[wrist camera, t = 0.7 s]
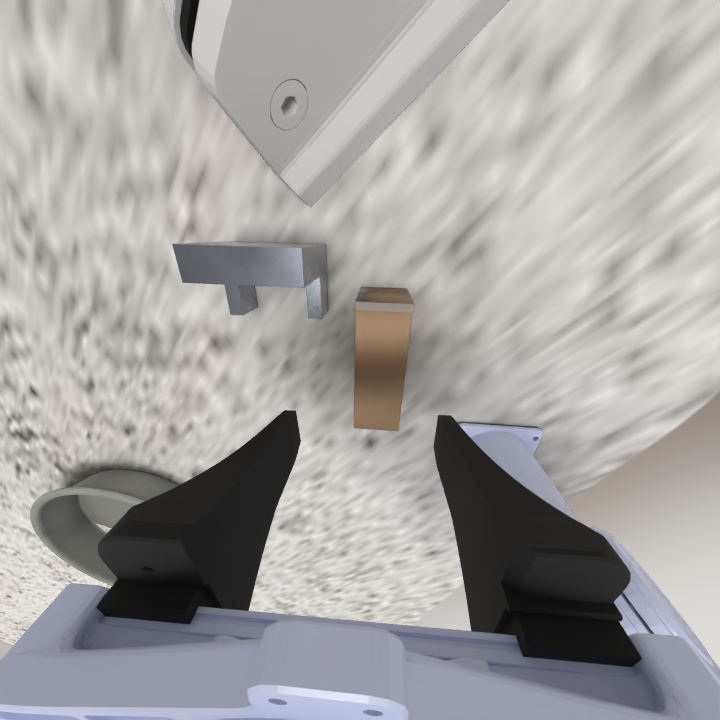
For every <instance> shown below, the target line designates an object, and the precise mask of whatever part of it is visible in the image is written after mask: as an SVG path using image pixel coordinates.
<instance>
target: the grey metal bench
mask: <svg viewBox="0 0 720 720" xmlns="http://www.w3.org/2000/svg"><path fill="white" fill-rule="evenodd" d="M172 245H173V249H174V252H175V256H176V260H177V263H178V267H179V271H180V274H181V278H182V282H183V283H203V284H225V289H226V294H227V299H228V304H229V309H230V314H231V315H245V314H247V313H248V312H250V311H252V310H254V309H255V308H257V307H258V305H257V298H256V292H255V286H276V287H301V288H304V287H306V289H307V304H308V318H310V319H322V318H323V317H324V315H325V314H326V312H327V311H328V292H327V259H326V244H299V243H267V242H210V243H184V244H172Z"/></svg>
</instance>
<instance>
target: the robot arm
mask: <svg viewBox="0 0 720 720" xmlns="http://www.w3.org/2000/svg"><path fill="white" fill-rule="evenodd" d="M542 435H543V432H542V431H541V430H540V429H538V428H527V427H513V426H498V425H484V424H470V423H460V424H458V423H457V422H456V421H455V420H454V418H453V417H452V416H449V415H438V420H437V427H436V434H435V441H434V451H435V458H436V463H437V468H438V471H439V475H440V478H441V482H442V488H443V490H444V492H445V495H446V499H447V502H448V505H449V509H450V512H451V516H452V520H453V525H454V530H455V535H456V540H457V546H458V551H459V557H460V562H461V568H462V574H463V580H464V586H465V592H466V598H467V604H468V611H469V618H470V625H471V631H461V630H451V629H439V628H428V627H418V626H407V625H396V624H385V623H374V622H363V621H352V620H341V619H330V618H319V617H308V616H297V615H286V614H275V613H264V612H253V611H249V606H250V602H251V598H252V594H253V590H254V585H255V581H256V577H257V574H258V570H259V566H260V562H261V558H262V554H263V551H264V547H265V544H266V540H267V537H268V533H269V530H270V526H271V523H272V520H273V517H274V513H275V510H276V507H277V505H278V502H279V499H280V497H281V494H282V492H283V490H284V487H285V485H286V482H287V480H288V477H289V475H290V473H291V470H292V468H293V465H294V463H295V460H296V457H297V453H298V450H299V446H300V442H301V440H300V434H299V427H298V421H297V415H296V411H288V410H284V411H283V412H282V413H281V414H280V415H278V416H277V417H276V418H275V419H274V420H273V421H272V422H271V423H270V424H268V425H267V426H266V427H265V428H264V429H263V430H262V431H260V432H259V433H258V434H257V435H256V436H255V437H253V438H252V439H251V440H249V441H248V442H247V443H246V444H244V445H243V446H242V447H241V448H239V449H238V450H237V451H235V452H234V453H232V454H231V455H230V456H228V457H227V458H225V459H224V460H222V461H221V462H219V463H218V464H216V465H214V466H213V467H211V468H209V469H208V470H206V471H204V472H203V473H201V474H199V475H198V476H196V477H194V478H192V479H190V480H188V481H187V482H185V483H183V484H181V485H179V486H177V487H175V488H173V489H171V490H169V491H167V492H164V493H162V494H160V495H158V496H156V497H153V498H151V499H149V500H146V501H144V502H142V503H140V504H137V505H135V506H132V507H131V508H130V509H129V510H128V511H127V512H126V513H125V514H124V516H123V517H122V518H121V519H120V520H119V521H118V522H117V523H116V524H115V525H114V526H113V528H112V529H111V530H110V531H109V532H108V533H107V534H106V535H105V536H104V537H103V538H102V540H101V541H100V542H99V544H98V555H99V556H100V558H101V559H102V561H103V562H104V563H105V564H106V565H107V567H108V568H109V569H110V570H111V571H112V573H113V574H114V575H115V576H116V577H117V580H116V582H115V583H114V584H113V586H112V587H111V588H110V590H109V589H108V588H105V587H103V586H98V585H87V584H75V583H71V584H69V585H67V586H66V588H65V589H64V590H63V591H62V592H61V593H60V594H59V595H58V597H57V598H56V599H55V600H54V601H53V602H52V603H51V604H50V605H49V607H48V608H47V609H46V610H45V611H44V612H43V613H42V614H41V616H40V617H39V618H38V619H37V620H36V621H35V622H34V623H33V625H32V626H31V627H30V628H29V629H28V630H27V631H26V632H25V633H24V635H23V636H22V637H21V638H20V639H19V640H18V641H17V642H16V644H15V645H14V646H13V647H12V648H11V649H10V650H9V652H8V653H7V654H6V655H5V656H4V657H3V658H2V660H0V720H720V669H719V667H718V666H717V665H716V663H715V662H714V661H713V660H712V658H711V657H710V655H709V653H708V652H707V650H706V649H705V647H704V646H703V645H702V643H701V642H700V641H699V639H698V638H697V636H696V635H695V634H694V632H693V631H692V630H691V628H690V627H689V626H688V624H687V623H686V622H685V620H684V619H683V618H682V617H681V615H680V614H679V613H678V611H677V610H676V609H675V608H674V607H673V605H672V604H671V602H670V601H669V600H668V599H667V597H666V596H665V595H664V594H663V593H662V591H661V590H660V589H659V588H658V586H657V585H656V584H655V583H654V581H653V580H652V579H651V578H650V577H649V575H648V574H647V573H646V572H645V571H644V569H643V568H642V567H641V566H640V565H639V563H638V562H637V561H636V560H635V559H634V558H633V557H632V555H631V554H630V553H629V552H628V551H627V550H626V549H625V547H624V546H623V545H622V544H621V543H620V542H619V541H618V540H617V539H616V538H615V537H614V536H613V535H612V534H610V533H607V532H605V531H602V530H599V529H598V528H597V527H594V526H591V527H590V528H589V527H587V526H585V525H583V524H582V523H580V522H579V521H578V519H577V518H576V516H575V515H574V513H573V512H572V510H571V509H570V508H569V506H568V505H567V503H566V502H565V500H564V499H563V497H562V496H561V494H560V493H559V492H558V490H557V489H556V487H555V486H554V484H553V483H552V481H551V480H550V479H549V477H548V476H547V474H546V473H545V471H544V470H543V468H542V467H541V466H540V464H539V463H538V461H537V460H536V458H535V457H534V453H535V451H536V449H537V446H538V444H539V442H540V439H541V437H542ZM534 437H535V438H534Z"/></svg>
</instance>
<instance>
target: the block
mask: <svg viewBox="0 0 720 720" xmlns="http://www.w3.org/2000/svg"><path fill="white" fill-rule="evenodd" d="M355 310H356V333H355V385H354V428H360V429H374V430H388V431H398V429H399V421H400V412H401V404H402V396H403V387H404V379H405V370H406V362H407V353H408V345H409V336H410V328H411V320H412V312H414V303H413V300H412V298H411V296H410V294H409V292H408V290H407V289H402V288H377V287H361V288H360V291H359V293H358V296H357V298H356V301H355Z"/></svg>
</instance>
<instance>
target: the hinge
mask: <svg viewBox="0 0 720 720" xmlns="http://www.w3.org/2000/svg"><path fill="white" fill-rule="evenodd" d="M508 1H509V0H163V4H164V9H165V15H166V18H167V21H168V24H169V26H170V28H171V31H172V33H173V36H174V38H175V40H176V43H177V45H178V47H179V50H180V52H181V54H182V55H183V57H184V58H185V60H186V61H187V63H188V64H189V65H190V66H191V68H192V69H193V70H194V71H195V73H196V74H197V75H198V77H199V79H200V82H201V83H202V84H203V85H204V87H205V88H206V89H207V90H208V92H209V93H210V94H211V95H212V97H213V98H214V99H215V100H216V102H217V103H218V104H219V105H220V107H221V108H222V109H223V110H224V112H225V113H226V114H227V115H228V117H229V118H230V119H231V120H232V122H233V123H234V124H235V125H236V127H237V128H238V129H239V130H240V131H241V133H242V134H243V135H244V136H245V137H246V139H247V140H248V141H249V142H250V144H251V145H252V146H253V147H254V148H255V150H256V151H257V152H258V153H259V154H260V156H261V157H262V158H263V159H264V161H265V162H266V163H267V164H268V165H269V167H270V168H271V169H272V170H273V171H274V173H275V174H276V175H277V176H278V177H279V178H280V179H281V180H282V181H283V182H284V183H285V184H286V185H287V186H288V187H289V188H290V189H291V190H292V191H293V192H294V193H295V194H296V195H297V196H298V197H299V198H300V199H302V200H303V201H304V202H305V203H306V204H307V205H309V206H310V207H312V206H313V205H314V204H315V203H316V201H317V200H318V199H319V198H320V197H321V196H322V195H323V194H324V193H325V192H326V191H327V190H328V189H329V188H330V187H331V186H332V185H333V184H334V183H335V182H336V181H337V180H338V179H339V177H340V176H341V175H342V174H343V173H344V172H345V171H346V170H347V169H348V168H349V167H350V166H351V165H352V164H353V163H354V162H355V161H356V160H357V159H358V158H359V157H360V156H361V155H362V154H363V152H364V151H365V150H366V149H367V148H368V147H369V146H370V145H371V144H372V143H373V142H374V141H375V140H376V139H377V138H378V137H379V136H380V135H381V134H382V133H383V132H384V131H385V130H386V129H387V127H388V126H389V125H390V124H391V123H392V122H393V121H394V120H395V119H396V118H397V117H398V116H399V115H400V114H401V113H402V112H403V111H404V110H405V109H406V108H407V107H408V106H409V105H410V104H411V102H412V101H413V100H414V99H415V98H416V97H417V96H418V95H419V94H420V93H421V92H422V91H423V90H424V89H425V88H426V87H427V86H428V85H429V84H430V83H431V82H432V81H433V80H434V78H435V77H436V76H437V75H438V74H439V73H440V72H441V71H442V70H443V69H444V68H445V67H446V66H447V65H448V64H449V63H450V62H451V61H452V60H453V59H454V58H455V57H456V56H457V55H458V53H459V52H460V51H461V50H462V49H463V48H464V47H465V46H466V45H467V44H468V43H469V42H470V41H471V40H472V39H473V38H474V37H475V36H476V35H477V34H478V33H479V32H480V31H481V30H482V28H483V27H484V26H485V25H486V24H487V23H488V22H489V21H490V20H491V19H492V18H493V17H494V16H495V15H496V14H497V13H498V12H499V11H500V10H501V9H502V8H503V7H504V6H505V5H506V3H507V2H508Z"/></svg>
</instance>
